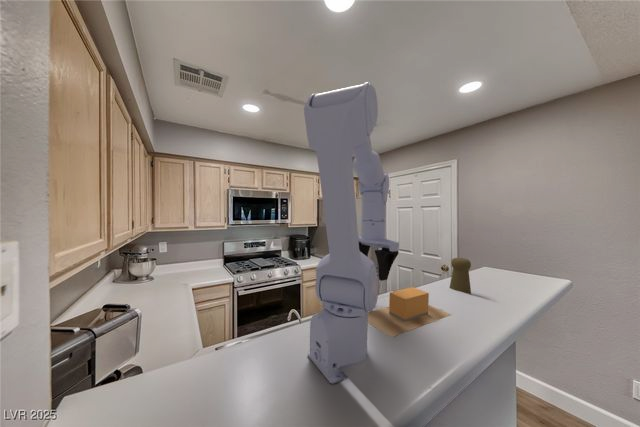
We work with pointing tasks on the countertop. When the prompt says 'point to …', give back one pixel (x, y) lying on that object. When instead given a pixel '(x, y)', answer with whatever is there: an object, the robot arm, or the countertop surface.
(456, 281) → the cork
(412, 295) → the block
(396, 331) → the pine board
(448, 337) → the countertop surface
